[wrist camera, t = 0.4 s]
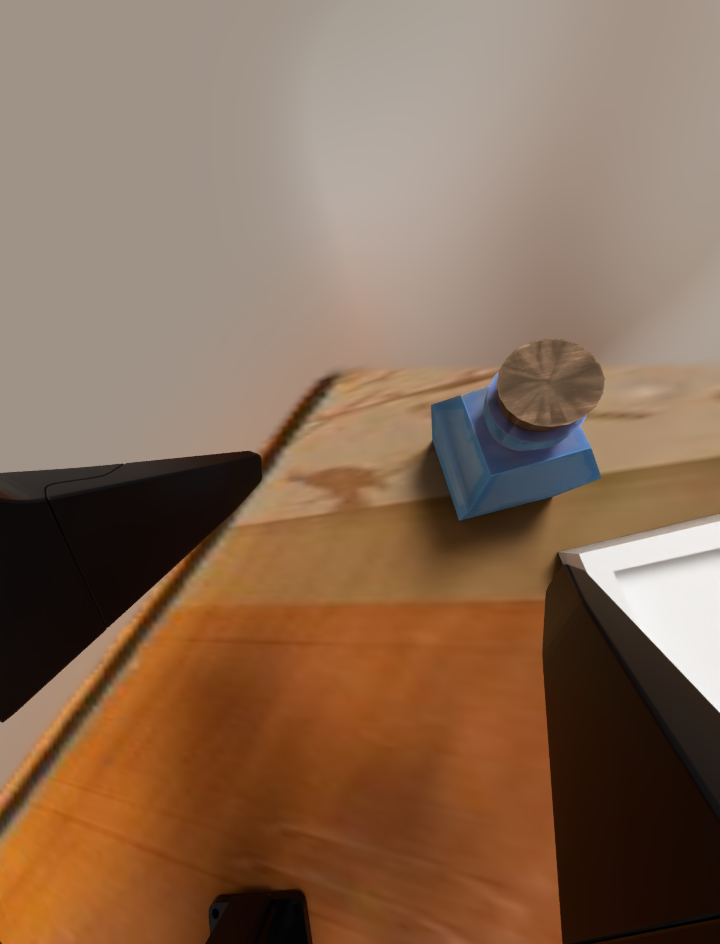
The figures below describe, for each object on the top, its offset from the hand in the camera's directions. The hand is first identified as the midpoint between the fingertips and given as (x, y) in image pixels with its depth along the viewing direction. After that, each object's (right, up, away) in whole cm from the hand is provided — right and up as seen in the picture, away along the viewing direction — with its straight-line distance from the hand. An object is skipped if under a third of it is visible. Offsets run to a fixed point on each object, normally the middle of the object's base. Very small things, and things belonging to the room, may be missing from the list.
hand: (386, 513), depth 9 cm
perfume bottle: (+8, +1, +13) cm, 15 cm away
